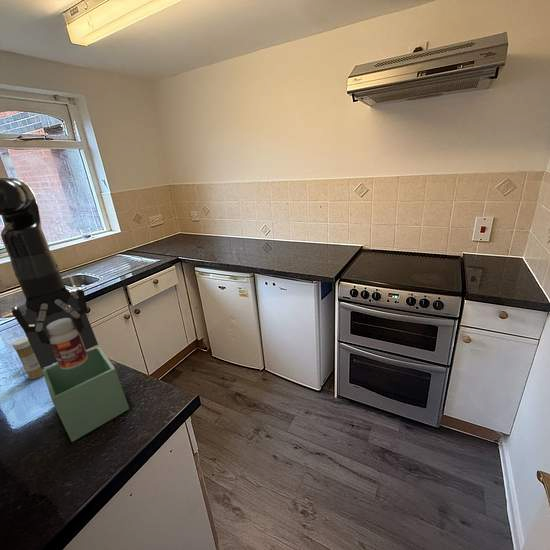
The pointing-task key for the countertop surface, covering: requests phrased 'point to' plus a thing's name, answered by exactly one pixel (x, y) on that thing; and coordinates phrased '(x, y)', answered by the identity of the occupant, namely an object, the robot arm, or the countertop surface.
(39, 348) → the pod lid
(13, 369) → the countertop surface
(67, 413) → the mint green storage bin
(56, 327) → the pill bottle
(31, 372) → the sprinkles bottle
